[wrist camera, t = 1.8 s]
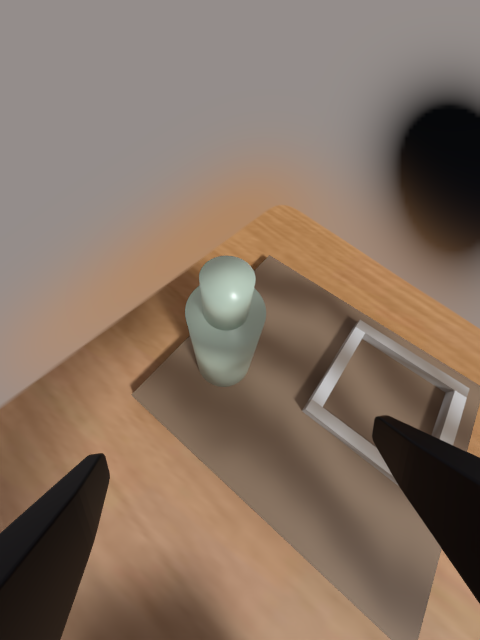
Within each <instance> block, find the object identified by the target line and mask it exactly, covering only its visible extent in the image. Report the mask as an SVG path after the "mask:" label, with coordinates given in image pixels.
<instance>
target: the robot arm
mask: <svg viewBox="0 0 480 640" xmlns="http://www.w3.org/2000/svg"><path fill="white" fill-rule="evenodd" d="M372 439H373V442H374V444H375V446H376V447H377V449H378V451H379V453H380V454H381V456H382V458H383V460H384V461H385V463H386V465H387V467H388V468H389V470H390V472H391V474H392V475H393V477H394V479H395V480H396V482H397V484H398V485H399V487H400V489H401V490H402V492H403V493H404V495H405V496H406V498H407V499H408V500H409V502H410V503H411V505H412V506H413V508H414V509H415V511H416V512H417V513H418V515H419V516H420V518H421V519H422V521H423V522H424V524H425V525H426V527H427V528H428V529H429V531H430V532H431V534H432V535H433V537H434V538H435V540H436V541H437V542H438V544H439V545H440V547H441V548H442V550H443V551H444V553H445V554H446V556H447V557H448V558H449V560H450V561H451V563H452V564H453V566H454V567H455V569H456V570H457V571H458V573H459V574H460V576H461V577H462V579H463V580H464V582H465V583H466V585H467V586H468V587H469V589H470V590H471V592H472V593H473V595H474V596H475V598H476V599H477V600H478V602H479V603H480V458H479V457H477V456H475V455H473V454H470V453H468V452H466V451H464V450H462V449H460V448H458V447H455V446H453V445H451V444H449V443H447V442H445V441H442V440H440V439H438V438H436V437H434V436H432V435H430V434H427V433H425V432H423V431H421V430H419V429H417V428H415V427H412V426H410V425H408V424H406V423H404V422H402V421H399V420H397V419H395V418H393V417H391V416H389V415H382V416H377V417H375V419H374V425H373V431H372ZM109 479H110V473H109V469H108V465H107V461H106V457H105V455H104V454H103V453H99V454H91V455H89V456H87V457H86V458H85V459H83V460H82V461H81V462H80V463H79V464H78V465H77V466H76V467H74V468H73V469H72V470H71V471H70V472H69V473H68V474H67V475H65V476H64V477H63V478H62V479H61V480H60V481H59V482H58V483H56V484H55V485H54V486H53V487H52V488H51V489H50V490H48V491H47V492H46V493H45V494H44V495H43V496H42V497H41V498H39V499H38V500H37V501H36V502H35V503H34V504H33V505H32V506H30V507H29V508H28V509H27V510H26V511H25V512H24V513H23V514H21V515H20V516H19V517H18V518H17V519H16V520H15V521H14V522H12V523H11V524H10V525H9V526H8V527H7V528H6V529H4V530H3V531H2V532H1V533H0V640H60V639H61V636H62V633H63V631H64V628H65V625H66V622H67V619H68V616H69V613H70V610H71V607H72V604H73V602H74V599H75V596H76V593H77V590H78V587H79V584H80V581H81V578H82V576H83V573H84V570H85V567H86V564H87V561H88V558H89V555H90V552H91V549H92V546H93V543H94V540H95V536H96V532H97V529H98V525H99V521H100V517H101V513H102V508H103V504H104V500H105V496H106V492H107V488H108V484H109Z"/></svg>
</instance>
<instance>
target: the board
mask: <svg viewBox="0 0 480 640" xmlns="http://www.w3.org/2000/svg"><path fill="white" fill-rule="evenodd" d="M254 273H255V278H256V280H255V286H254V288H255V289H256V290H257V291H258V293H259V294H260V295H261V297H262V298H263V301H264V303H265V307H266V320H265V323H264V326H263V329H262V332H261V335H260V338H259V340H258V343H257V346H256V349H255V352H254V355H253V358H252V360H251V363H250V366H249V369H248V372H247V374H246V375H245V377H244V378H243V379H242V380H241V381H240V382H238V383H237V384H235V385H232V386H228V387H219V386H215V385H213V384H211V383H209V382H208V381H206V380H205V379H204V378H203V376H202V375H201V373H200V371H199V367H198V364H197V360H196V356H195V352H194V348H193V344H192V341H191V337H190V336H189V337H188V338H187V339H186V340H185V341H184V342H183V343H182V344H181V345H180V346H179V347H178V348H177V349H176V350H175V351H174V352H173V353H172V354H171V355H170V356H169V357H168V358H167V359H166V360H165V361H164V362H163V363H162V364H161V365H160V366H159V367H158V368H157V369H156V370H155V371H154V372H153V373H152V374H151V375H150V376H149V377H148V378H147V379H146V380H145V381H144V382H143V383H142V384H141V385H140V386H139V388H138V389H137V390H136V391H135V392H134V393H133V394H132V396H133V397H134V398H135V399H136V400H137V401H138V402H139V403H140V404H141V405H142V406H143V407H144V408H145V409H147V410H148V411H149V412H150V413H151V414H152V415H153V416H154V417H155V418H156V419H157V420H158V421H159V422H160V423H161V424H162V425H164V426H165V427H166V428H167V429H168V430H169V431H170V432H171V433H172V434H173V435H174V436H175V437H176V438H177V439H178V440H179V441H181V442H182V443H183V444H184V445H185V446H186V447H187V448H188V449H189V450H190V451H191V452H192V453H193V454H194V455H195V456H196V457H198V458H199V459H200V460H201V461H202V462H203V463H204V464H205V465H206V466H207V467H208V468H209V469H210V470H211V471H212V472H213V473H215V474H216V475H217V476H218V477H219V478H220V479H221V480H222V481H223V482H224V483H225V484H226V485H227V486H228V487H229V488H231V489H232V490H233V491H234V492H235V493H236V494H237V495H238V496H239V497H240V498H241V499H242V500H243V501H244V502H245V503H246V504H248V505H249V506H250V507H251V508H252V509H253V510H254V511H255V512H256V513H257V514H258V515H259V516H260V517H261V518H262V519H263V520H265V521H266V522H267V523H268V524H269V525H270V526H271V527H272V528H273V529H274V530H275V531H276V532H277V533H278V534H279V535H280V536H282V537H283V538H284V539H285V540H286V541H287V542H288V543H289V544H290V545H291V546H292V547H293V548H294V549H295V550H296V551H297V552H299V553H300V554H301V555H302V556H303V557H304V558H305V559H306V560H307V561H308V562H309V563H310V564H311V565H312V566H313V567H314V568H316V569H317V570H318V571H319V572H320V573H321V574H322V575H323V576H324V577H325V578H326V579H327V580H328V581H329V582H330V583H331V584H333V585H334V586H335V587H336V588H337V589H338V590H339V591H340V592H341V593H342V594H343V595H344V596H345V597H346V598H347V599H348V600H350V601H351V602H352V603H353V604H354V605H355V606H356V607H357V608H358V609H359V610H360V611H361V612H362V613H363V614H364V615H365V616H367V617H368V618H369V619H370V620H371V621H372V622H373V623H374V624H375V625H376V626H377V627H378V628H379V629H380V630H381V631H382V632H384V633H385V634H386V635H387V636H388V637H389V638H390V639H391V640H418V637H419V633H420V629H421V626H422V622H423V618H424V614H425V610H426V606H427V603H428V599H429V595H430V591H431V587H432V583H433V580H434V576H435V572H436V568H437V564H438V560H439V557H440V553H441V549H442V548H441V547H440V545H439V544H438V542H437V541H436V540H435V538H434V537H433V535H432V534H431V532H430V531H429V529H428V528H427V527H426V525H425V524H424V522H423V521H422V519H421V518H420V516H419V515H418V513H417V512H416V511H415V509H414V508H413V506H412V505H411V503H410V502H409V500H408V499H407V498H406V496H405V495H404V493H403V492H402V490H401V489H400V487H399V485H398V484H397V482H396V480H395V479H394V477H393V475H392V474H391V472H390V470H389V468H388V467H387V465H386V463H385V461H384V460H383V458H382V456H381V454H380V453H379V451H378V449H377V447H376V446H375V444H374V442H373V439H372V431H373V425H374V419H375V417H377V416H382V415H389V416H391V417H393V418H395V419H397V420H399V421H402V422H404V423H406V424H408V425H410V426H412V427H415V428H417V429H419V430H421V431H423V432H425V433H427V434H430V435H432V436H434V437H436V438H438V439H440V440H442V441H445V442H447V443H449V444H451V445H453V446H455V447H458V448H460V449H462V450H464V451H466V452H467V449H468V445H469V442H470V438H471V434H472V430H473V426H474V422H475V419H476V415H477V411H478V407H479V403H480V386H479V385H478V384H476V383H475V382H473V381H471V380H470V379H468V378H467V377H465V376H463V375H462V374H460V373H458V372H457V371H455V370H454V369H452V368H450V367H449V366H447V365H446V364H444V363H442V362H441V361H439V360H438V359H436V358H434V357H433V356H431V355H429V354H428V353H426V352H425V351H423V350H421V349H420V348H418V347H417V346H415V345H413V344H412V343H410V342H408V341H407V340H405V339H404V338H402V337H400V336H399V335H397V334H396V333H394V332H392V331H391V330H389V329H388V328H386V327H384V326H383V325H381V324H379V323H378V322H376V321H375V320H373V319H371V318H370V317H368V316H367V315H365V314H363V313H362V312H360V311H358V310H357V309H355V308H354V307H352V306H350V305H349V304H347V303H346V302H344V301H342V300H341V299H339V298H338V297H336V296H334V295H333V294H331V293H329V292H328V291H326V290H325V289H323V288H321V287H320V286H318V285H317V284H315V283H313V282H312V281H310V280H308V279H307V278H305V277H304V276H302V275H300V274H299V273H297V272H296V271H294V270H292V269H291V268H289V267H288V266H286V265H284V264H283V263H281V262H279V261H278V260H276V259H275V258H273V257H271V256H270V255H269V256H268V257H267V258H266V259H265V260H264V261H263V262H262V263H261V264H260V265H259V266H258V267H257V268H256V269H255V270H254Z"/></svg>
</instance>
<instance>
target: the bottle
mask: <svg viewBox="0 0 480 640" xmlns="http://www.w3.org/2000/svg"><path fill="white" fill-rule="evenodd" d="M255 280H256V278H255V273H254V271H253V269H252V267H251V266H250V265H249V264H248V263H247V262H245V261H244V260H242V259H240V258H237V257H233V256H220V257H216V258H213V259H211V260H209V261H208V262H207V263H206V264H205V265H204V266H203V267H202V269H201V271H200V274H199V282H200V286H198V287H197V288H196V289H195V290H194V291H193V292H192V293H191V295H190V296H189V298H188V300H187V303H186V307H185V317H186V321H187V325H188V329H189V333H190V337H191V341H192V344H193V348H194V352H195V356H196V360H197V364H198V367H199V371H200V373H201V375H202V376H203V378H204V379H205V380H206V381H208V382H209V383H211V384H213V385H215V386H219V387H228V386H232V385H235V384H237V383H238V382H240V381H241V380H242V379H243V378H244V377H245V375H246V374H247V372H248V369H249V366H250V363H251V360H252V358H253V355H254V352H255V349H256V346H257V343H258V340H259V338H260V335H261V332H262V329H263V326H264V323H265V320H266V307H265V303H264V301H263V298H262V297H261V295H260V294H259V293H258V291H257V290H256V289H255V288H254V286H255Z"/></svg>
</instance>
